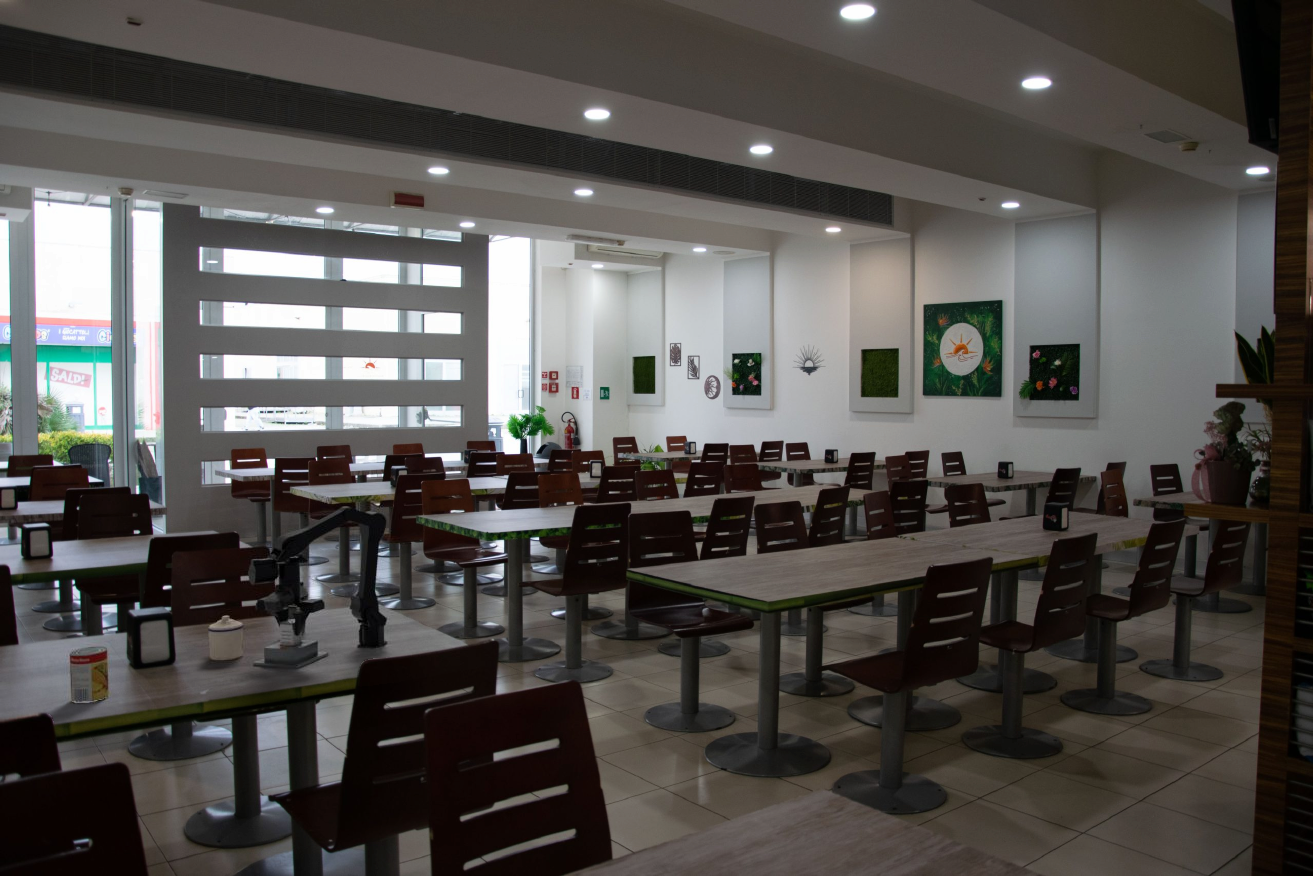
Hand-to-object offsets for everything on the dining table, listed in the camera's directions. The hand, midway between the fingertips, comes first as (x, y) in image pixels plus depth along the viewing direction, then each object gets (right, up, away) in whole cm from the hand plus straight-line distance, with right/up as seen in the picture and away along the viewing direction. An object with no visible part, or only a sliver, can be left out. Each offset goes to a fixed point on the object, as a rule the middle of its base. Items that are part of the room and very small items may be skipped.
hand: (291, 635), depth 263 cm
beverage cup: (-11, -6, +32) cm, 35 cm away
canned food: (-36, -9, -33) cm, 50 cm away
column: (0, -5, 0) cm, 5 cm away
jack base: (0, -7, 0) cm, 7 cm away
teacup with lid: (-21, -7, +5) cm, 23 cm away
